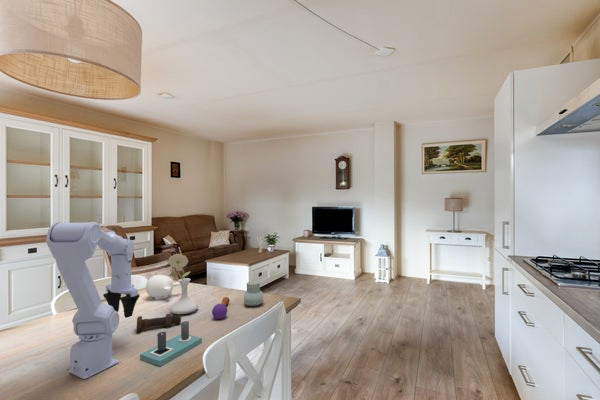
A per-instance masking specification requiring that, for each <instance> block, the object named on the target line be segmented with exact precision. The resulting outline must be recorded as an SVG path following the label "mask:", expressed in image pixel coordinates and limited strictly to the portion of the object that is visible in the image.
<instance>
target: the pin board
mask: <svg viewBox="0 0 600 400" xmlns="http://www.w3.org/2000/svg"><path fill="white" fill-rule="evenodd" d="M180 326H181V327H180V329H181V330H180V333H179V334H178V335H176V336H174V337H171V338H170V339H168V340H167V339H166V352H165V353H163V354H161V355H159V354H158V344H157V345H156V346H153V347H151V348H149V349H147V350H146V351H143V352H141V353H139V359H140V360H141V361H144V362H147V363H148V364H149V363H150V364H153V365H154V366H157V367H162V366H164V365H165V364H167V363H169V362H171V361H173V360H174V359H176V358H178V357H180V356H181V355H183V354H184V353H186V352H188V351H190V350H191V349H193V348H195V347H197V346H198V345H200V344H202V342H203V338H202V337H198V336H195V335H193V334H190V329H189V328H190V322H189V321H188V320H186V321H181V323H180Z"/></svg>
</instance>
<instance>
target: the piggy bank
mask: <svg viewBox="0 0 600 400" xmlns="http://www.w3.org/2000/svg"><path fill="white" fill-rule="evenodd" d="M179 286H180V287H181V284H180V282H179V281H177V282H174V280H173V279H172V278H171V276H169V275H164V274H155V275H152V276H151V277H150V278H149V279H147V282H146V285H145V292H146V294H147V296H149V297H151V298H154V299H155V300H156V301H157V300H163V299H166V298H168V297H169V296H172V293H173V290H174V287H175V288H177V287H179Z"/></svg>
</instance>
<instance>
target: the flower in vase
mask: <svg viewBox="0 0 600 400" xmlns="http://www.w3.org/2000/svg"><path fill="white" fill-rule="evenodd" d="M187 257H188V256H186V255H183V254H182V253H180V254H179V253H174V254H173V255H171V256H170V257H169V258H168V260H167V262H168V264H169V265H170V267H172V268H176V269H181V268H184V267H186V266H187V264H188V263H189V259H188V258H187ZM190 273H191V270H190V271H187V272H185V273H184V274H183V275H181V274H180V272H179V271H177V272H174V271H172V272H171V273H169V275H168V277H172V278H173V277H174V278H176V277H178V276H179V277H180V279H179V278H178V280H177V282H180V284H181V285H180V288H181V295H180V298H179V299H177V301H175V303H174V304H173V305H171V307H170V309H169V311H170V312H171V313H172V314H175V315H186V314H190V313H193V312H195V311H197V310H198V308H199V304H198V303H197V302H196V301H195V300H193V299H192V298H190V297H189V296H188V285H189V283H190V281H191V278H188V277H186V276H188V275H189V274H190ZM184 277H185V278H184Z"/></svg>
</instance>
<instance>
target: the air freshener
mask: <svg viewBox="0 0 600 400" xmlns="http://www.w3.org/2000/svg"><path fill="white" fill-rule="evenodd" d="M243 298H244V299H243V300H244V301H243V303H244V305H245V306H247V307H248V306H249V307H255V306H256V307H257V306H260V305H262V304H263V302H264V294H263V291H262V290H261V283H260V281H257V280H249V281H247V282H246V291H245V292H243Z"/></svg>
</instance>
